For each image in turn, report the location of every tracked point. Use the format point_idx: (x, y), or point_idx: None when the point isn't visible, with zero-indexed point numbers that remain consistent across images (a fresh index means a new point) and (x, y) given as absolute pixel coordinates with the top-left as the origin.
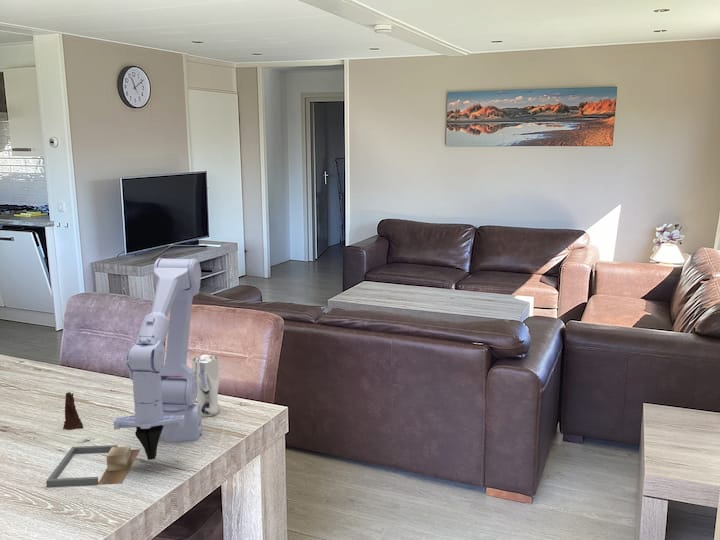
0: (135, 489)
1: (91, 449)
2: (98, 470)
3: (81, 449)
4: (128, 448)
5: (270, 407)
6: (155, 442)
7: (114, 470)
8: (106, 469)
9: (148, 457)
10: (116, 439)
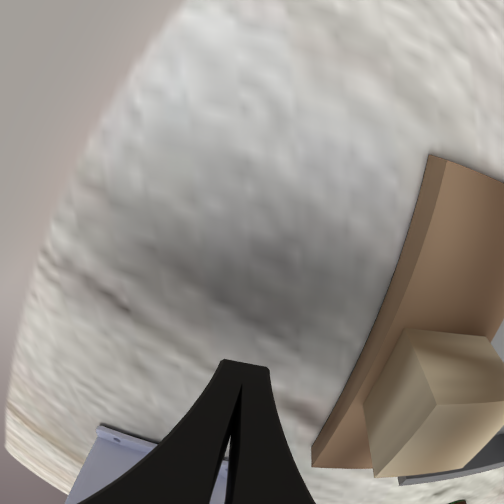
0: (352, 121)
1: (477, 462)
2: None
3: (499, 458)
4: (392, 464)
5: (26, 465)
6: (143, 471)
7: (461, 334)
8: None
9: (261, 377)
10: (372, 500)
